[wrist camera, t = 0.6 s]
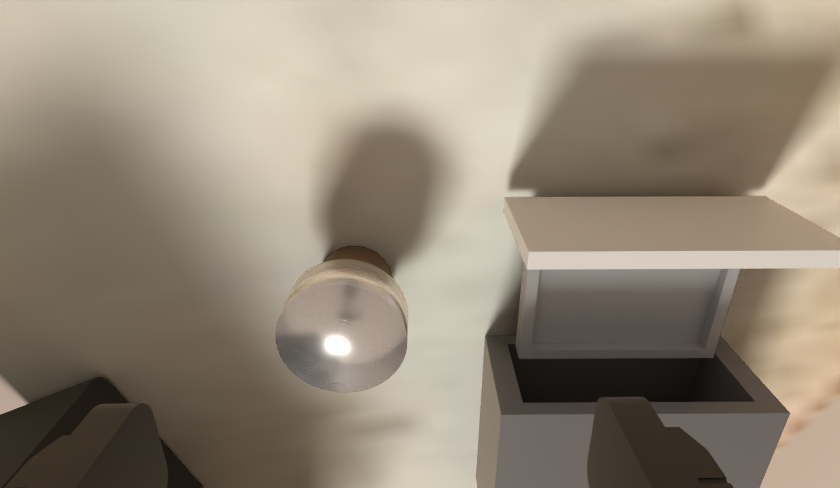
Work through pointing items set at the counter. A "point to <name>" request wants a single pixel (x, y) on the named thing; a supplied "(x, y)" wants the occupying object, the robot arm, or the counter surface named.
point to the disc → (344, 326)
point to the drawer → (646, 269)
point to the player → (619, 377)
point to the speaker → (64, 428)
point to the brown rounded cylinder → (360, 256)
